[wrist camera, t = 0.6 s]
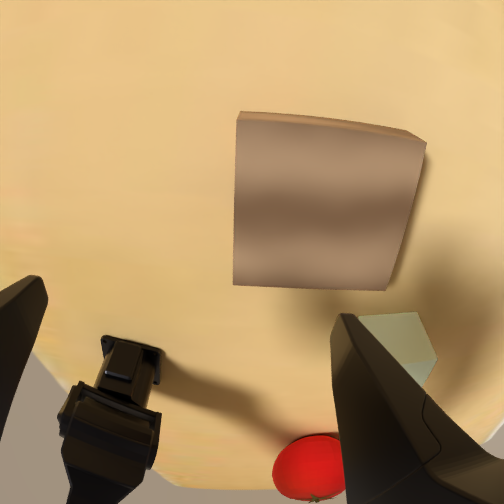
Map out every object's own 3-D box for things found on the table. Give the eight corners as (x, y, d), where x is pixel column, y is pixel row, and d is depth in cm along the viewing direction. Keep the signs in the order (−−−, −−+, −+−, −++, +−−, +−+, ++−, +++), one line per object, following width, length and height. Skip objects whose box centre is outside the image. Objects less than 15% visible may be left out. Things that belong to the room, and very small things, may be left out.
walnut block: (373, 263, 25) (385, 290, 22) (236, 256, 25) (232, 285, 22) (404, 129, 19) (426, 142, 16) (240, 110, 19) (236, 119, 16)
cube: (400, 351, 31) (415, 397, 26) (347, 356, 31) (357, 405, 26) (416, 310, 28) (437, 359, 23) (358, 315, 28) (373, 368, 23)
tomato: (345, 449, 46) (351, 504, 37) (273, 455, 46) (273, 511, 38) (356, 421, 39) (366, 487, 31) (270, 429, 40) (270, 497, 32)
